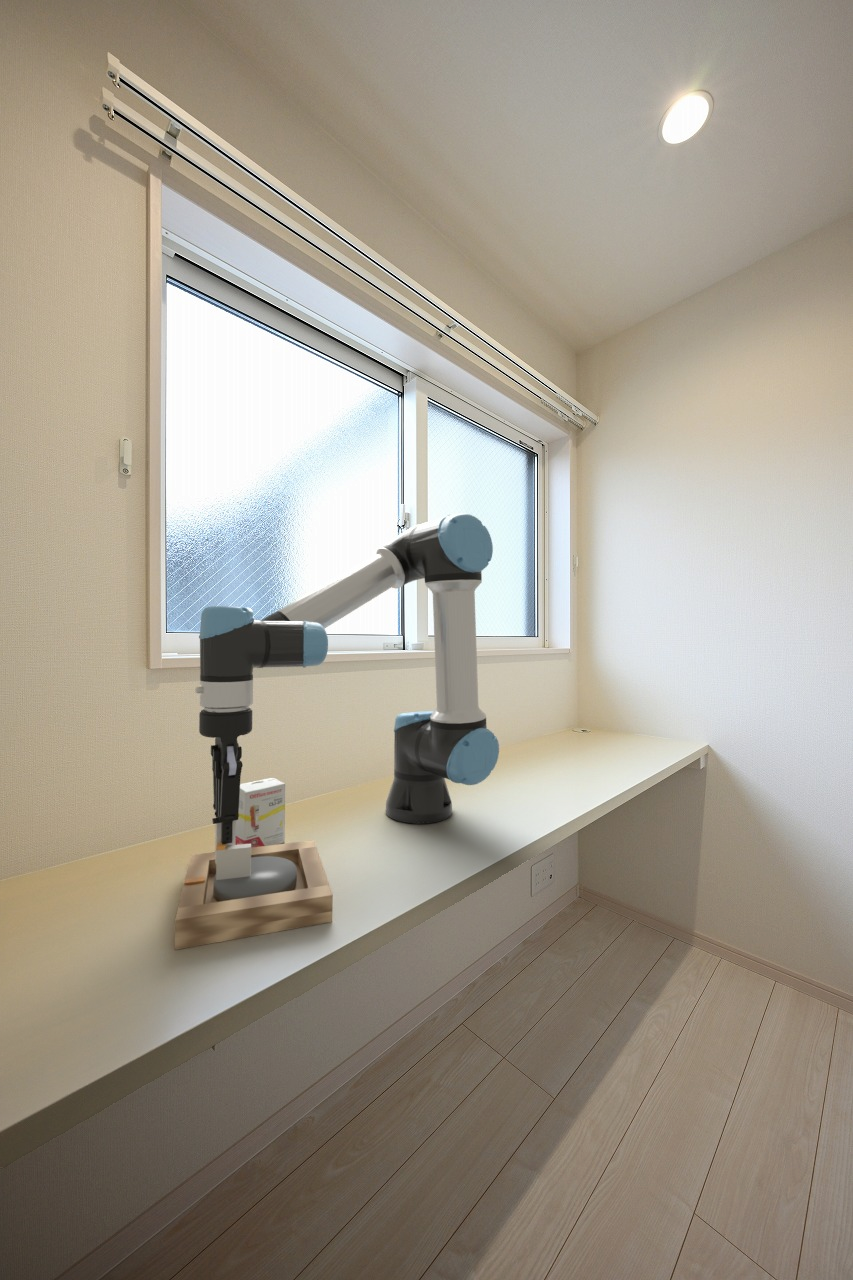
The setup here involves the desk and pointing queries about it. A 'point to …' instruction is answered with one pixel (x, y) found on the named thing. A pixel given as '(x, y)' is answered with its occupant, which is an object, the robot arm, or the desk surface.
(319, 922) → the wooden tray
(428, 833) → the desk surface
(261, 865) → the dial
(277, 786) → the ink box
